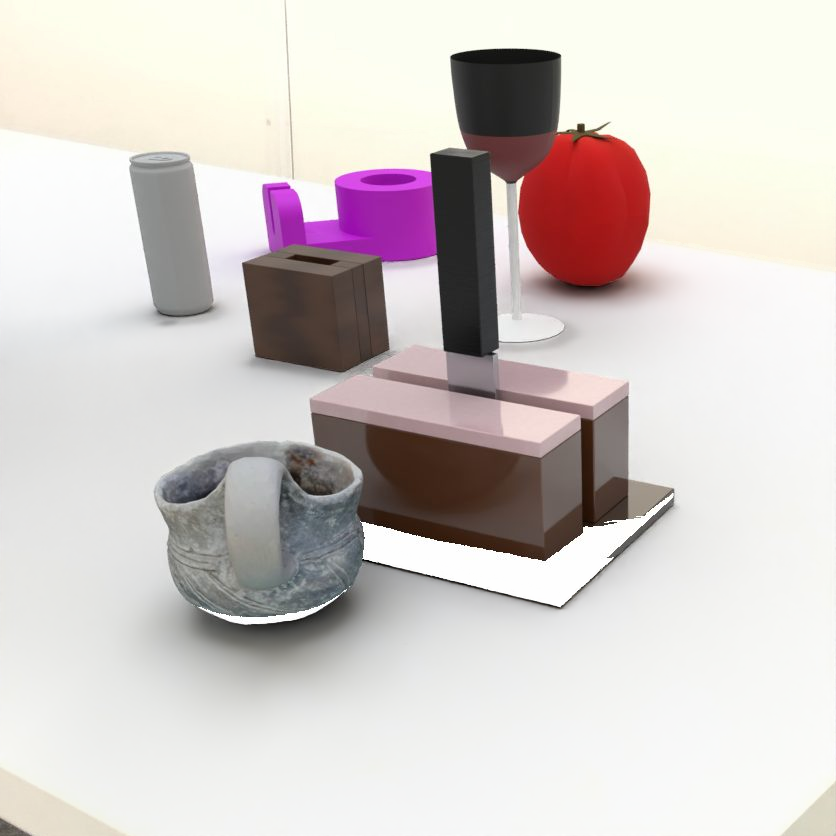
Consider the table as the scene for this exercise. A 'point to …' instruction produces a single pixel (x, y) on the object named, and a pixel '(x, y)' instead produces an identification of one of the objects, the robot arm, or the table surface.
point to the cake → (487, 454)
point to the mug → (263, 527)
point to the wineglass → (510, 142)
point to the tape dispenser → (360, 215)
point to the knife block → (317, 306)
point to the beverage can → (171, 232)
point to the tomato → (585, 208)
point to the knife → (466, 269)
